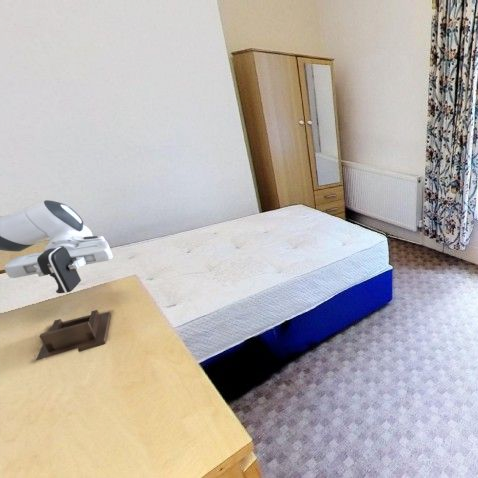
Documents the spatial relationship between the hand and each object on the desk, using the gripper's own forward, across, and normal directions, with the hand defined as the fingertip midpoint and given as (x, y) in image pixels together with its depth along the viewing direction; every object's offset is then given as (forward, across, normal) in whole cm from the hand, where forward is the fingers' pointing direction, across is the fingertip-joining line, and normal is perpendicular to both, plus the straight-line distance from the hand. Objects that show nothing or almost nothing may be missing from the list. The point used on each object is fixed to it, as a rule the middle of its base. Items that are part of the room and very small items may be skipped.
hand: (57, 270), depth 85 cm
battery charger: (-1, 0, +6) cm, 6 cm away
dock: (+8, 0, +17) cm, 19 cm away
